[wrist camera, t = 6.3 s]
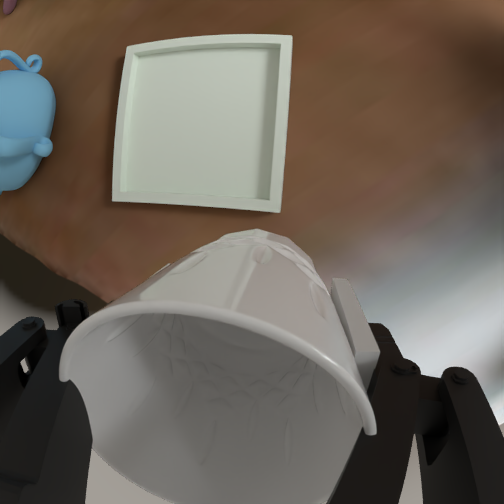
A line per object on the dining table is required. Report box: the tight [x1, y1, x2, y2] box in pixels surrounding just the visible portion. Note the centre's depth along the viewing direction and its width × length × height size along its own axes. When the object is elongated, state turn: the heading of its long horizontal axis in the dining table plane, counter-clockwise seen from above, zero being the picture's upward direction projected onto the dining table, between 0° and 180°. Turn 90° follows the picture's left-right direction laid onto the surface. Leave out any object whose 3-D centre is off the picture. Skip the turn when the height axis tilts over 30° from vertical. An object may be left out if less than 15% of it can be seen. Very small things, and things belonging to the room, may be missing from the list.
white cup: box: [59, 229, 377, 504], centre depth 11 cm, size 8×8×10 cm
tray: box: [112, 34, 292, 213], centre depth 26 cm, size 17×17×2 cm
